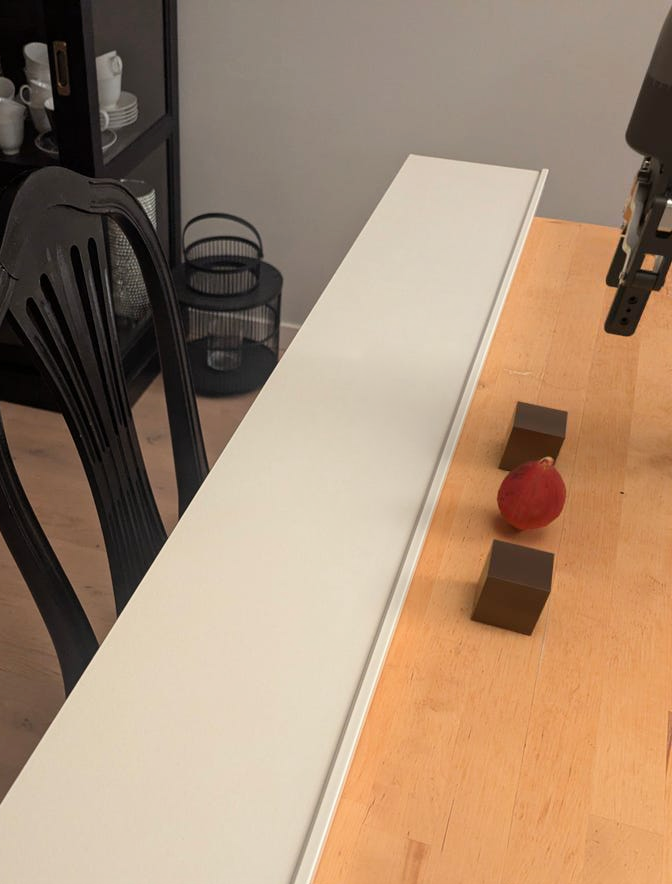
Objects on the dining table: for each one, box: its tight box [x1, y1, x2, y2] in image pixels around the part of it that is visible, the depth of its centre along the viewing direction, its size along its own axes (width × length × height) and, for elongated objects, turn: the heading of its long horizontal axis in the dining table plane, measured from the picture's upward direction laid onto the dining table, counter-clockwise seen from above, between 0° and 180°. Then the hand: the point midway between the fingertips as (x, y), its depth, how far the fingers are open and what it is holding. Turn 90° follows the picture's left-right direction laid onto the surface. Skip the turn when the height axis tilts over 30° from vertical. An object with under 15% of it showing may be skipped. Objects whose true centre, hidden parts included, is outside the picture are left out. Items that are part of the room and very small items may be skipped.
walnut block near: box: [470, 538, 555, 636], centre depth 76 cm, size 5×5×5 cm
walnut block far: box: [497, 400, 569, 472], centre depth 92 cm, size 5×5×5 cm
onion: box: [496, 457, 567, 532], centre depth 83 cm, size 6×6×8 cm
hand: (617, 308), depth 72 cm, fingers open, 8 cm apart
